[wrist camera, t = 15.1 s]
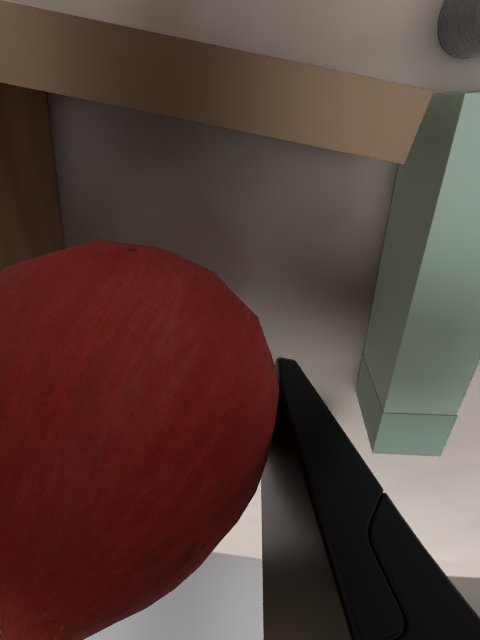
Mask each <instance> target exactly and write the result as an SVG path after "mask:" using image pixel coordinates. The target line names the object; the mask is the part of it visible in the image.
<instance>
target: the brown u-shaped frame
mask: <svg viewBox="0 0 480 640" xmlns="http://www.w3.org/2000/svg"><path fill="white" fill-rule="evenodd" d="M46 92H50V93H55V94H60V95H65V96H70V97H75V98H80V99H85V100H90V101H95V102H100V103H104V104H109V105H114V106H119V107H124V108H129V109H134V110H139V111H144V112H149V113H153V114H158V115H163V116H168V117H173V118H178V119H183V120H188V121H193V122H198V123H202V124H207V125H212V126H217V127H222V128H227V129H232V130H237V131H242V132H247V133H251V134H256V135H261V136H266V137H271V138H276V139H281V140H286V141H291V142H296V143H300V144H305V145H310V146H315V147H320V148H325V149H330V150H335V151H340V152H345V153H349V154H354V155H359V156H364V157H369V158H374V159H379V160H384V161H389V162H394V163H399V164H403V165H404V163H405V161H406V158H407V156H408V153H409V151H410V148H411V146H412V143H413V141H414V138H415V136H416V133H417V131H418V129H419V126H420V124H421V121H422V119H423V116H424V114H425V111H426V109H427V106H428V104H429V101H430V99H431V96H432V94H433V91H432V90H427V89H423V88H418V87H413V86H408V85H403V84H399V83H394V82H389V81H384V80H379V79H375V78H370V77H365V76H360V75H356V74H351V73H346V72H341V71H336V70H332V69H327V68H322V67H317V66H312V65H308V64H303V63H298V62H293V61H288V60H284V59H279V58H274V57H269V56H264V55H260V54H255V53H250V52H245V51H240V50H236V49H231V48H226V47H221V46H216V45H212V44H207V43H202V42H197V41H192V40H188V39H183V38H178V37H173V36H168V35H164V34H159V33H154V32H149V31H144V30H140V29H135V28H130V27H125V26H121V25H116V24H111V23H106V22H101V21H97V20H92V19H87V18H82V17H77V16H73V15H68V14H63V13H58V12H53V11H49V10H44V9H39V8H34V7H29V6H25V5H20V4H15V3H10V2H5V1H1V0H0V271H2V270H3V269H4V268H5V267H7V266H9V265H12V264H16V263H19V262H22V261H26V260H29V259H32V258H36V257H39V256H43V255H46V254H49V253H53V252H56V251H60V250H63V249H65V246H64V238H63V229H62V221H61V213H60V204H59V196H58V188H57V180H56V171H55V163H54V155H53V146H52V138H51V130H50V121H49V113H48V105H47V97H46Z"/></svg>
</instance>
